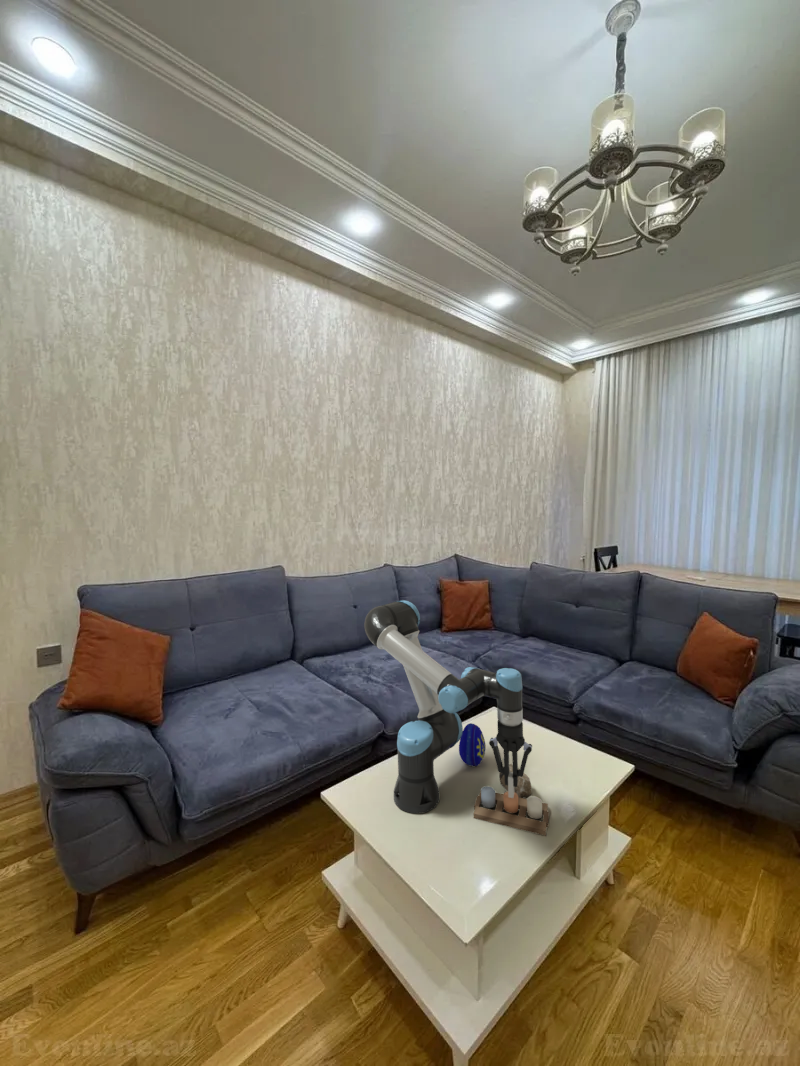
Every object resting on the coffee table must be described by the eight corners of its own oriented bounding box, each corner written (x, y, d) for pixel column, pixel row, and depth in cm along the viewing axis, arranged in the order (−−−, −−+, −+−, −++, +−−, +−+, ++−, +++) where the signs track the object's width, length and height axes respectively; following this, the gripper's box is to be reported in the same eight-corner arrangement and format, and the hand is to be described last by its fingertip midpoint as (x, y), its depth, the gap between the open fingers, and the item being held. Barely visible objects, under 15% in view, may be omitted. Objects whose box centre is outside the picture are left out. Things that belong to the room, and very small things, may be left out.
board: (471, 817, 131) (471, 813, 131) (479, 793, 143) (479, 788, 142) (547, 836, 123) (547, 831, 123) (549, 808, 134) (549, 804, 134)
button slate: (480, 805, 134) (479, 793, 134) (482, 797, 138) (482, 785, 138) (494, 809, 133) (494, 796, 132) (496, 800, 137) (496, 788, 136)
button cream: (526, 816, 129) (526, 804, 129) (527, 807, 133) (527, 794, 133) (541, 820, 127) (541, 807, 127) (542, 810, 131) (542, 797, 131)
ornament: (478, 775, 152) (477, 734, 151) (454, 767, 157) (453, 727, 156) (489, 759, 162) (488, 720, 161) (466, 752, 166) (465, 714, 165)
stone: (523, 804, 136) (523, 782, 136) (494, 785, 146) (495, 764, 146) (537, 796, 141) (538, 775, 140) (509, 778, 150) (509, 758, 150)
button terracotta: (502, 811, 132) (502, 798, 131) (504, 801, 136) (504, 789, 135) (517, 814, 130) (517, 802, 130) (519, 805, 134) (518, 792, 134)
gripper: (486, 723, 130) (488, 798, 131) (531, 730, 125) (532, 807, 127) (490, 712, 137) (492, 783, 138) (533, 718, 132) (534, 792, 134)
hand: (511, 795), depth 132 cm, fingers closed
